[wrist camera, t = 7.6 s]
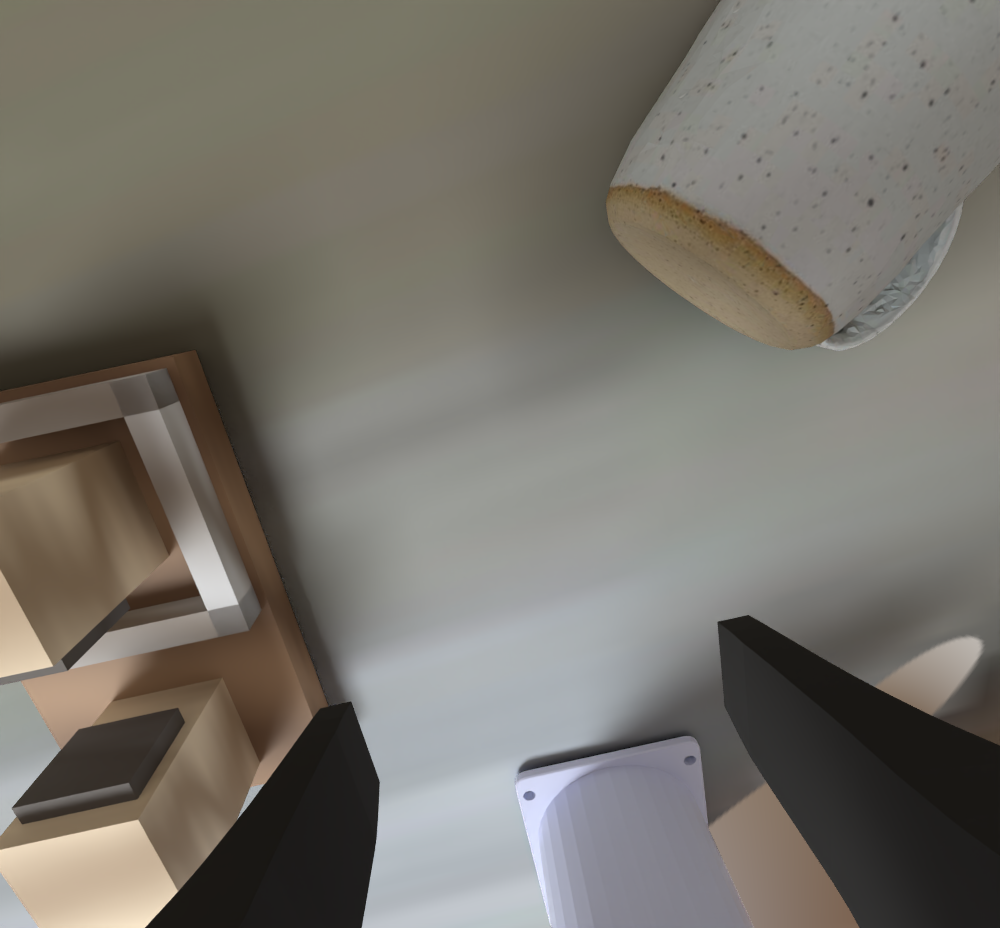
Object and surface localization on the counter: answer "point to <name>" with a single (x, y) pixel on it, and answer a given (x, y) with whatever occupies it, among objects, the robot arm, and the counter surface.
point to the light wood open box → (156, 661)
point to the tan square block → (68, 555)
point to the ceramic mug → (813, 162)
